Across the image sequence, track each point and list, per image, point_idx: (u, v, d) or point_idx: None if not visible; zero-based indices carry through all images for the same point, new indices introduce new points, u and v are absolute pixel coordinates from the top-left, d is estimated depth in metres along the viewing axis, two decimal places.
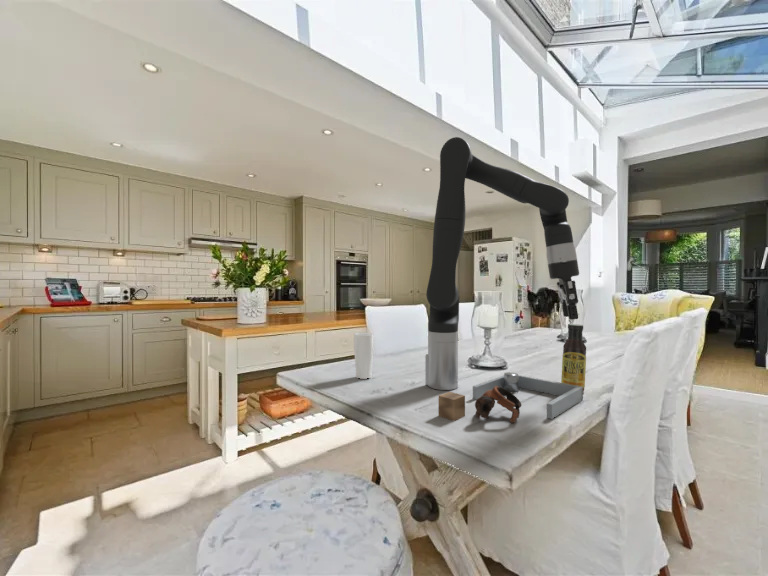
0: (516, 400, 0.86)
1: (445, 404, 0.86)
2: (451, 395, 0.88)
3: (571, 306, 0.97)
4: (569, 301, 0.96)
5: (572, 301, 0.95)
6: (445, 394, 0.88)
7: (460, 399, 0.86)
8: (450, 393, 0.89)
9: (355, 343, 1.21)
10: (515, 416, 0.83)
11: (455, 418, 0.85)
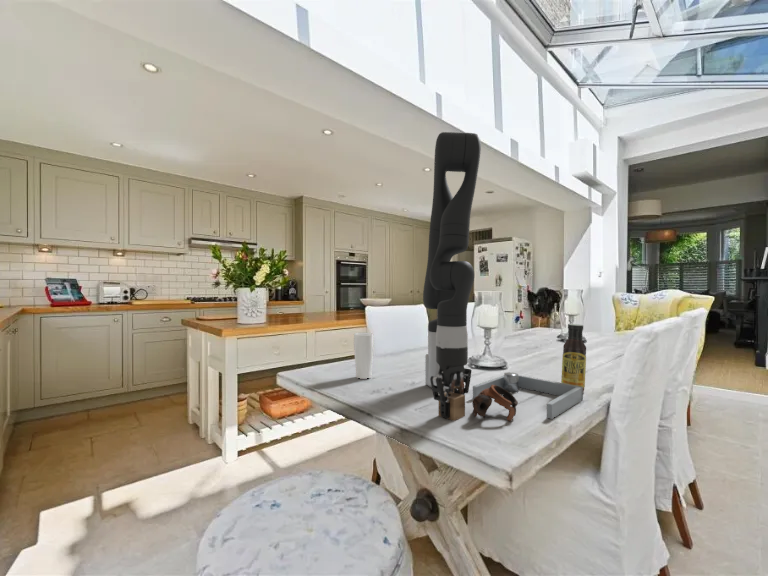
0: (512, 398, 0.88)
1: None
2: (451, 395, 0.88)
3: (441, 403, 0.85)
4: (435, 398, 0.84)
5: (437, 399, 0.84)
6: (445, 394, 0.88)
7: (460, 399, 0.86)
8: None
9: (355, 343, 1.21)
10: (512, 414, 0.84)
11: (455, 418, 0.85)
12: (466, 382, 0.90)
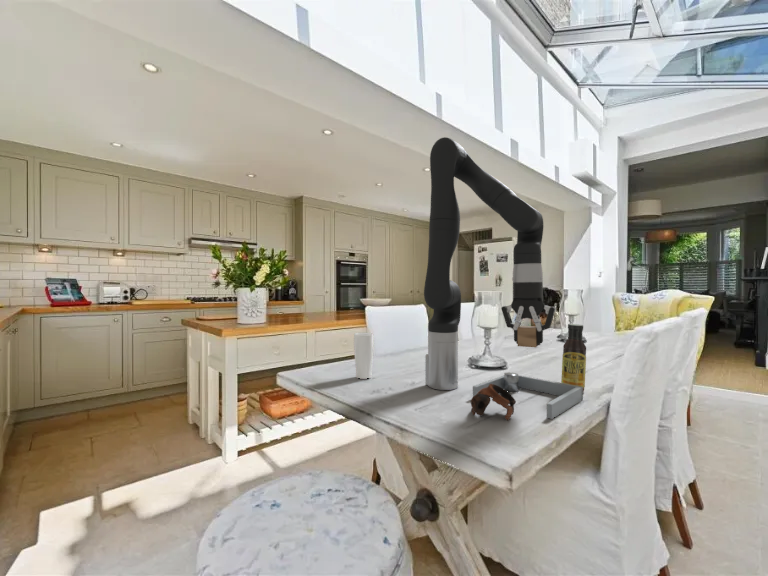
0: (510, 397, 0.88)
1: None
2: None
3: None
4: None
5: None
6: (527, 326, 0.99)
7: (527, 329, 0.96)
8: (533, 326, 0.98)
9: (355, 343, 1.21)
10: (510, 413, 0.85)
11: (519, 344, 0.97)
12: None
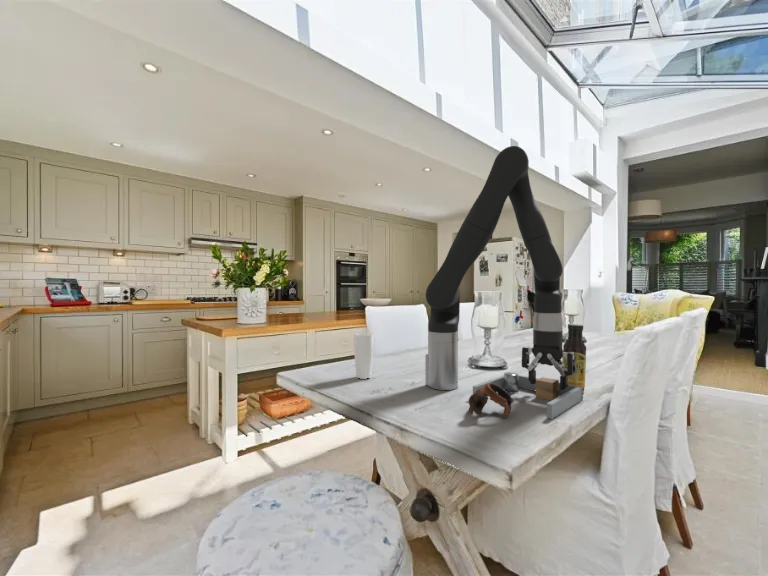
0: (508, 396, 0.89)
1: None
2: (548, 379, 1.02)
3: None
4: None
5: None
6: (548, 378, 1.03)
7: (545, 383, 1.00)
8: (553, 379, 1.02)
9: (355, 343, 1.21)
10: (507, 411, 0.86)
11: (538, 396, 1.01)
12: (567, 365, 0.97)
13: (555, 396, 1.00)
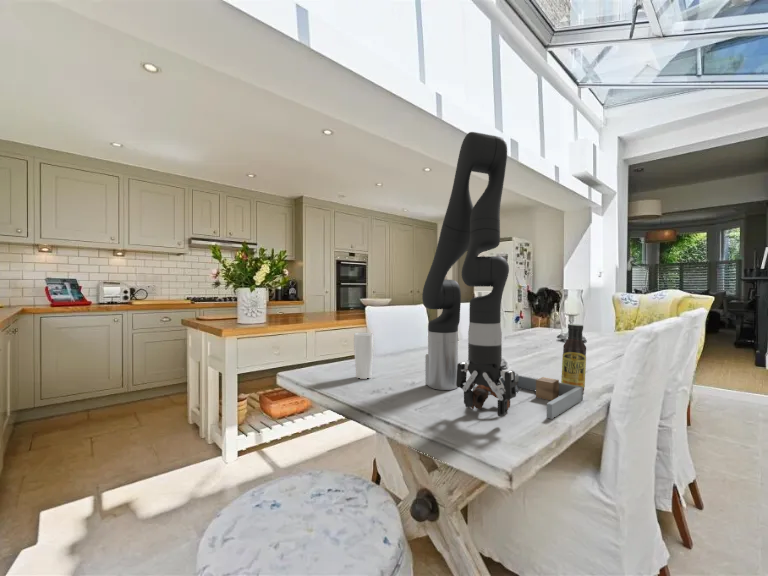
0: None
1: None
2: (548, 379, 1.02)
3: None
4: None
5: None
6: (548, 378, 1.03)
7: (545, 383, 1.00)
8: (554, 379, 1.02)
9: (355, 343, 1.21)
10: (507, 406, 0.89)
11: (538, 396, 1.01)
12: None
13: (555, 396, 1.00)
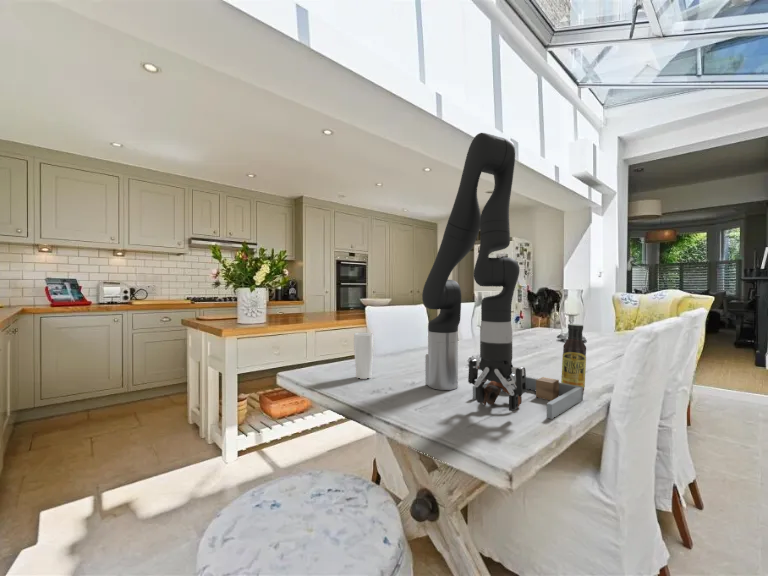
0: None
1: None
2: (548, 379, 1.02)
3: None
4: None
5: None
6: (548, 378, 1.03)
7: (545, 383, 1.00)
8: (554, 379, 1.02)
9: (355, 343, 1.21)
10: (518, 402, 0.92)
11: (538, 396, 1.01)
12: None
13: (555, 396, 1.00)
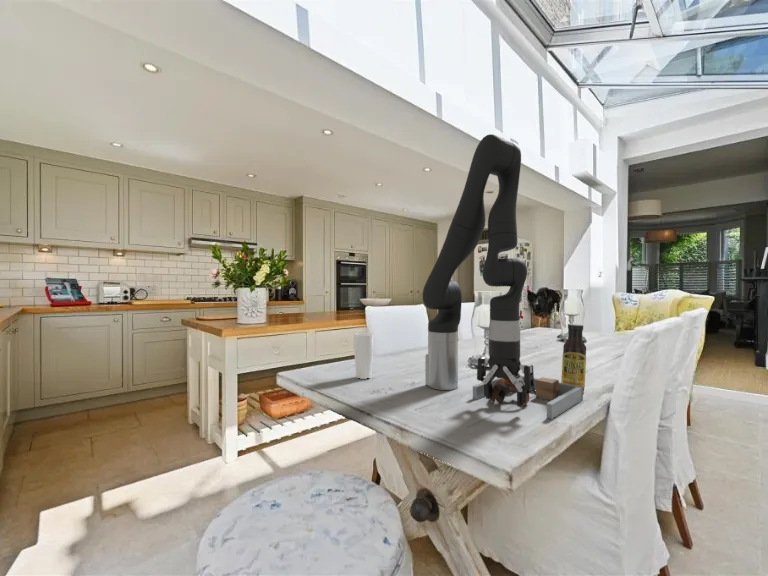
0: None
1: None
2: (548, 379, 1.02)
3: None
4: None
5: None
6: (548, 378, 1.03)
7: (545, 383, 1.00)
8: (554, 379, 1.02)
9: (355, 343, 1.21)
10: (527, 399, 0.94)
11: (538, 396, 1.01)
12: None
13: (555, 396, 1.00)
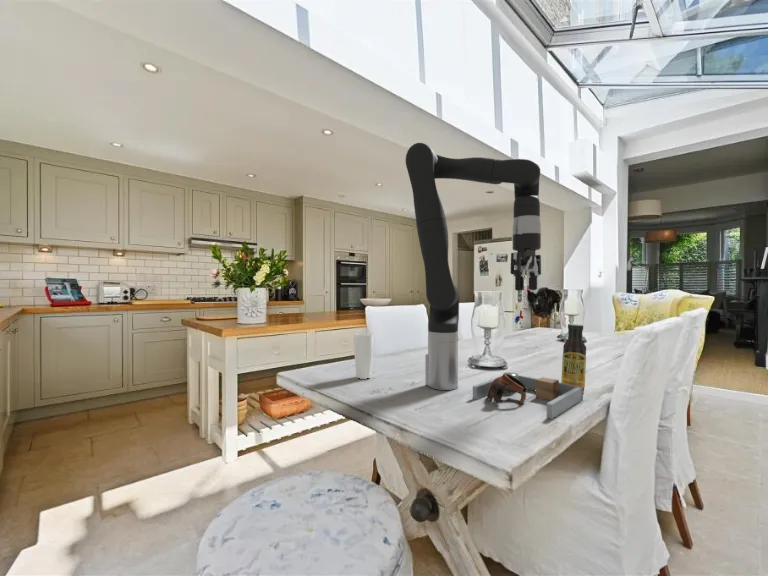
0: (522, 384, 1.00)
1: None
2: (548, 379, 1.02)
3: (516, 277, 1.00)
4: (511, 271, 0.99)
5: (514, 272, 0.99)
6: (548, 378, 1.03)
7: (545, 383, 1.00)
8: (554, 379, 1.02)
9: (355, 343, 1.21)
10: (523, 398, 0.96)
11: (538, 396, 1.01)
12: (538, 266, 1.07)
13: (555, 396, 1.00)
